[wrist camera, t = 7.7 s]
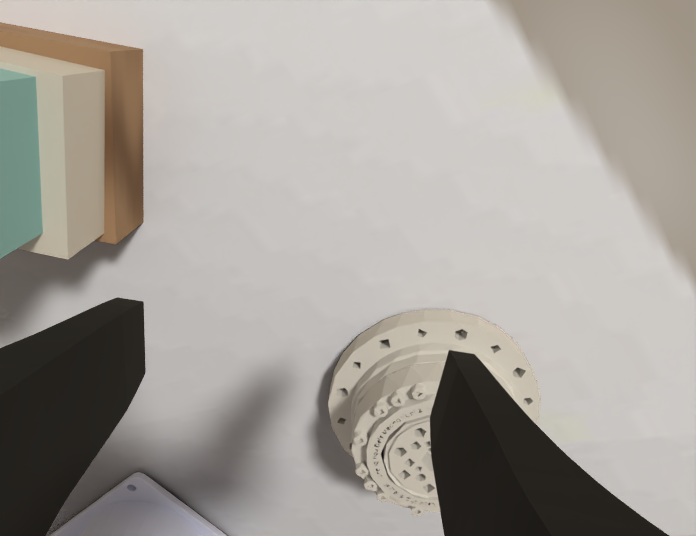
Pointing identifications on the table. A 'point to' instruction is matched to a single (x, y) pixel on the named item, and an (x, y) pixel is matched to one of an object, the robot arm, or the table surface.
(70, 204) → the slab top
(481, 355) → the mechanical component
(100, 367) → the robot arm
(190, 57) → the table surface
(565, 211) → the table surface
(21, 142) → the cube
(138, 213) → the slab base
